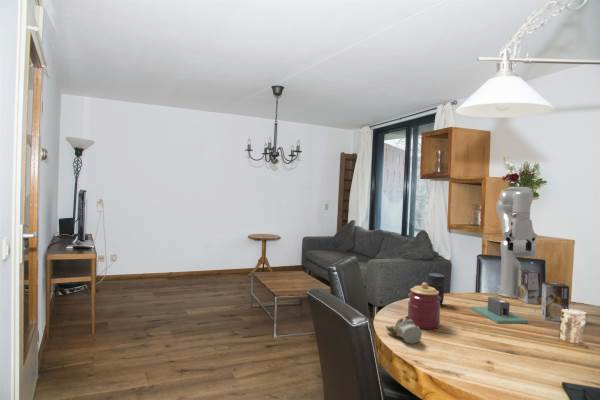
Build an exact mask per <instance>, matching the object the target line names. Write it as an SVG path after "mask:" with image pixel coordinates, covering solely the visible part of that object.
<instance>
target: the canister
mask: <svg viewBox="0 0 600 400" xmlns="http://www.w3.org/2000/svg"><path fill="white" fill-rule="evenodd" d="M410 291H411V292H409V293H408V295H407V296H408V297H409V299H408V302H407V304H408V305H407V316H406V317H409V318H410V319H412V320H413V323H414V324H415V325H416V326H417V327H419V328H420V330H421V329H422V330H436V329H438V328H439V327H440V324H441V319H440V318H441V317H440V316H441V314H440V313H441V307H442V306H440V304H439V301H440V300H441V297H440V296H438V294H439V292H438V291H437V290H436V289H435V288H433V287H429V286H428V284H427V282H424V281H423V282H422V283H421V285H414V286H413V287H411V288H410Z"/></svg>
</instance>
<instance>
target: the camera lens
mask: <svg viewBox="0 0 600 400" xmlns="http://www.w3.org/2000/svg"><path fill="white" fill-rule="evenodd" d="M445 279H446V278H445V275H444V274H441V273H435V272H429V273H428V274H427V279H426V281H427V282H426V283H427V284H428V286H429V287H433V288H435V289H436V290H437V291H438V292H439V294H438V296H440V297H441V300H440V301H439V304H440V306H441V307H442V306H443V303H444V297H445V295H444V294H445V293H444V291H445V281H446V280H445Z"/></svg>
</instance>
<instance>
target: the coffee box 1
mask: <svg viewBox="0 0 600 400" xmlns="http://www.w3.org/2000/svg"><path fill="white" fill-rule="evenodd" d="M540 287H541V273H540V272H538V271H534V270H531V269H521V270H519V284H518V298H517V300H519V301H522V302H524V303H525V304H530V305H531V304H532V305H539V303H540Z"/></svg>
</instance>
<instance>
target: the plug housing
mask: <svg viewBox="0 0 600 400" xmlns="http://www.w3.org/2000/svg"><path fill="white" fill-rule="evenodd" d="M487 307H488V310H489V311H491V312H493V313H495V314H497V315H499V316H502V308H503V314H504V315H506V316H509V312H510V302H508V301H506V300H504V299H502V298H500V297H497V296H496V297H495V296H491V297H490V296H488V297H487Z"/></svg>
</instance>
